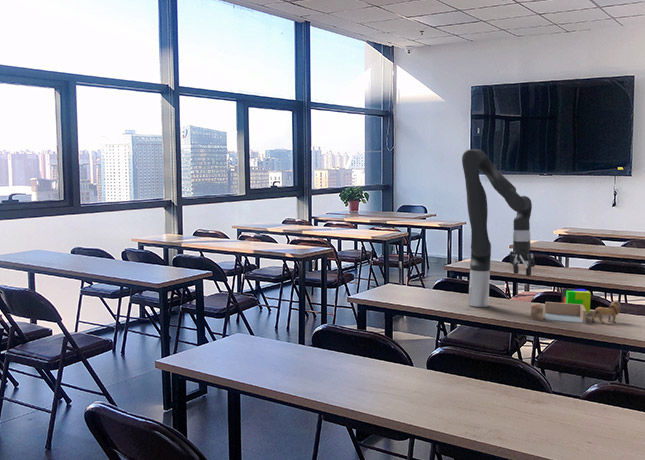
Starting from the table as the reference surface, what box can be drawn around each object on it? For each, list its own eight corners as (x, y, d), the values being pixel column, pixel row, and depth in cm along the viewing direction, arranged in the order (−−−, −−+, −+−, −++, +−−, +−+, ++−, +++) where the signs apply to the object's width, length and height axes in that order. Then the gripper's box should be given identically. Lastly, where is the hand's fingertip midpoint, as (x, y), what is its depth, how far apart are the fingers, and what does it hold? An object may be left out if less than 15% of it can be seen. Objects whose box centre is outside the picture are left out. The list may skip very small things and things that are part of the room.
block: (530, 319, 275) (531, 305, 275) (530, 317, 280) (531, 303, 279) (542, 320, 274) (543, 306, 273) (542, 318, 278) (543, 304, 278)
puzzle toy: (582, 309, 299) (583, 289, 298) (589, 314, 289) (590, 292, 288) (561, 308, 300) (562, 288, 299) (567, 313, 290) (568, 291, 289)
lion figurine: (613, 319, 278) (614, 299, 277) (623, 322, 273) (624, 302, 272) (587, 321, 272) (588, 301, 272) (596, 324, 267) (598, 303, 267)
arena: (546, 320, 274) (546, 308, 273) (544, 313, 288) (545, 301, 287) (585, 323, 269) (586, 311, 269) (582, 316, 283) (582, 304, 283)
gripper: (505, 239, 292) (505, 273, 293) (525, 241, 279) (525, 277, 280) (518, 238, 295) (518, 272, 296) (539, 240, 281) (539, 276, 283)
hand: (522, 274), depth 288 cm, fingers open, 8 cm apart
